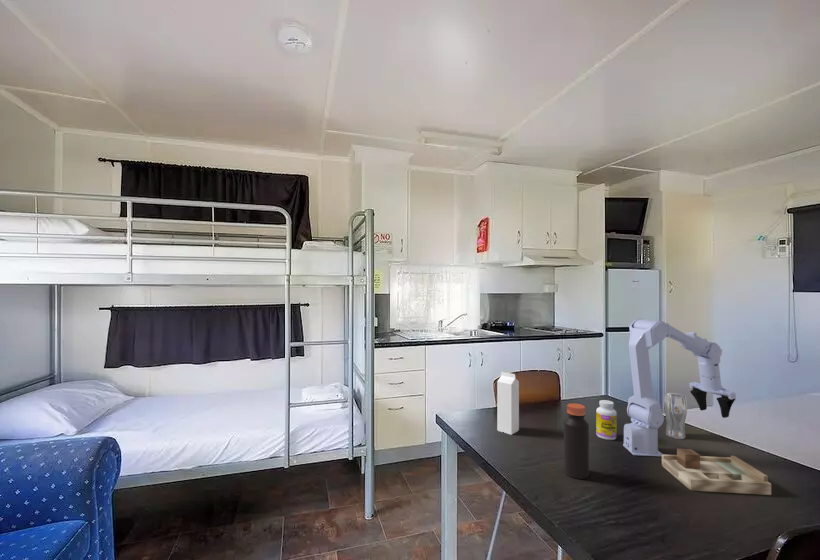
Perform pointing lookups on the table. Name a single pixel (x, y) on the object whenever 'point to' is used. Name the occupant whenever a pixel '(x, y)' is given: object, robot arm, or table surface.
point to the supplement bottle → (606, 420)
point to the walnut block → (688, 458)
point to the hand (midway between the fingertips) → (714, 413)
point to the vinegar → (576, 442)
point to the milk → (507, 403)
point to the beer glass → (675, 414)
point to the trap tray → (719, 475)
